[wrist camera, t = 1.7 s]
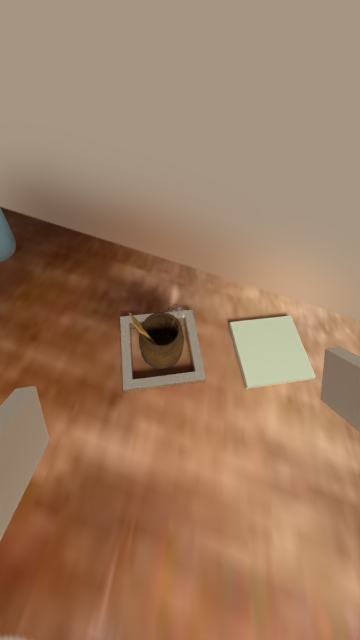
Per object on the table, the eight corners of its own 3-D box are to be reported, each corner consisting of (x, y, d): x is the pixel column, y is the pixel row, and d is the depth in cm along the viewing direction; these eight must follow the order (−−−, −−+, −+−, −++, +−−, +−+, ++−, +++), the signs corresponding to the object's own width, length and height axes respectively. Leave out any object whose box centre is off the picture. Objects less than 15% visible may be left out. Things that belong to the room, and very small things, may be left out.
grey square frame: (125, 393, 34) (123, 390, 32) (122, 322, 39) (120, 316, 37) (204, 382, 35) (205, 379, 33) (191, 315, 40) (192, 309, 38)
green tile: (245, 388, 35) (247, 386, 34) (228, 325, 40) (229, 322, 39) (312, 379, 36) (316, 377, 35) (288, 318, 41) (290, 315, 40)
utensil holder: (188, 361, 36) (199, 321, 26) (147, 377, 35) (140, 343, 24) (172, 327, 39) (176, 278, 28) (133, 341, 37) (122, 295, 27)
